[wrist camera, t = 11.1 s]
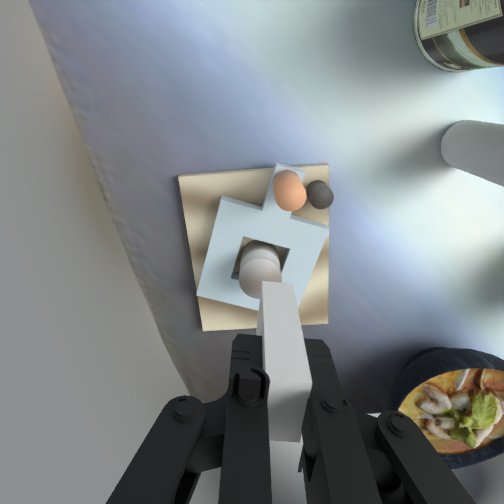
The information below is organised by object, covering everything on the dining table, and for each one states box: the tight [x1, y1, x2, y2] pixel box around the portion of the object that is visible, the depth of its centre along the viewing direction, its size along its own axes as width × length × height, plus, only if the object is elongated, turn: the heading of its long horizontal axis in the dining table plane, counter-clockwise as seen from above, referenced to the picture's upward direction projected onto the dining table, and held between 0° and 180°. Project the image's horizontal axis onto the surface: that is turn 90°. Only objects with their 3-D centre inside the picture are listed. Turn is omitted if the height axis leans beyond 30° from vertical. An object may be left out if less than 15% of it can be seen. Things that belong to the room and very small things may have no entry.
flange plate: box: [196, 162, 329, 311], centre depth 38 cm, size 17×12×7 cm
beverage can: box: [441, 120, 504, 186], centre depth 33 cm, size 5×5×12 cm
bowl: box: [388, 347, 504, 469], centre depth 46 cm, size 17×17×10 cm
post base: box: [178, 163, 334, 331], centre depth 40 cm, size 20×16×7 cm
